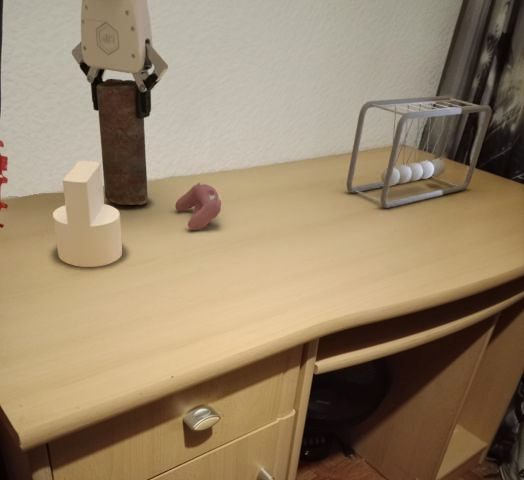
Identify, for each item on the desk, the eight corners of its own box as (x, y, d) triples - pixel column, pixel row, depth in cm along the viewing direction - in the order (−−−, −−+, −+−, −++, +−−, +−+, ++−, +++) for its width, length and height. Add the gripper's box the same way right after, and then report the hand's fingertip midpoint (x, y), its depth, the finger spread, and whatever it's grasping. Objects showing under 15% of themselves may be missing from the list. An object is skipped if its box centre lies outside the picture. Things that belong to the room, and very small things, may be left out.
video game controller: (210, 239, 91) (230, 202, 89) (187, 229, 88) (206, 191, 86) (194, 216, 98) (212, 182, 96) (172, 207, 96) (190, 171, 93)
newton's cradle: (431, 175, 129) (453, 94, 119) (468, 189, 122) (495, 105, 112) (343, 193, 112) (360, 101, 102) (381, 210, 106) (403, 113, 96)
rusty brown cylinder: (131, 214, 93) (124, 86, 81) (96, 204, 95) (84, 79, 83) (155, 201, 99) (153, 80, 87) (122, 192, 101) (114, 73, 89)
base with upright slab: (67, 238, 83) (57, 158, 76) (127, 242, 84) (122, 164, 77) (50, 264, 76) (37, 178, 69) (115, 269, 76) (109, 184, 69)
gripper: (46, -26, 77) (61, 108, 87) (156, -12, 73) (158, 126, 83) (78, -25, 83) (89, 101, 93) (181, -12, 79) (180, 118, 89)
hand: (121, 112), depth 88 cm, fingers closed on rusty brown cylinder, 7 cm apart
